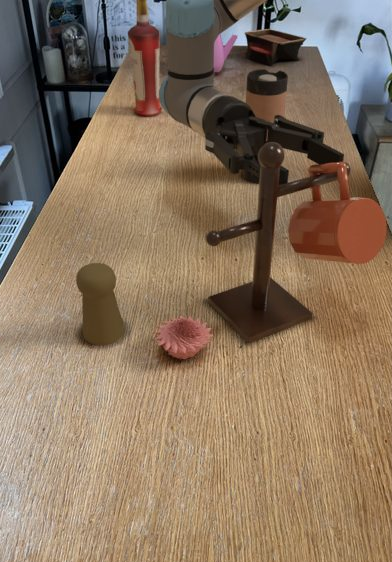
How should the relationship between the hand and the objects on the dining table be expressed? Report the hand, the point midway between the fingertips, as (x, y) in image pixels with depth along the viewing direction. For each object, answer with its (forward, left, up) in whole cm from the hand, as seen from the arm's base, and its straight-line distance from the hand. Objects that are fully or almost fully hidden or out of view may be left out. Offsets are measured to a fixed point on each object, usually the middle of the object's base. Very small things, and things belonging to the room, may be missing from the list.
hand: (313, 172), depth 78 cm
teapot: (+35, -106, -20) cm, 113 cm away
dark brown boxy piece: (+16, -122, -20) cm, 124 cm away
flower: (+14, +17, -20) cm, 30 cm away
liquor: (+42, -70, -20) cm, 84 cm away
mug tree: (+4, +5, -20) cm, 21 cm away
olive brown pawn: (+26, +15, -20) cm, 36 cm away
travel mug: (+10, -39, -20) cm, 45 cm away
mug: (-6, +7, -2) cm, 9 cm away
